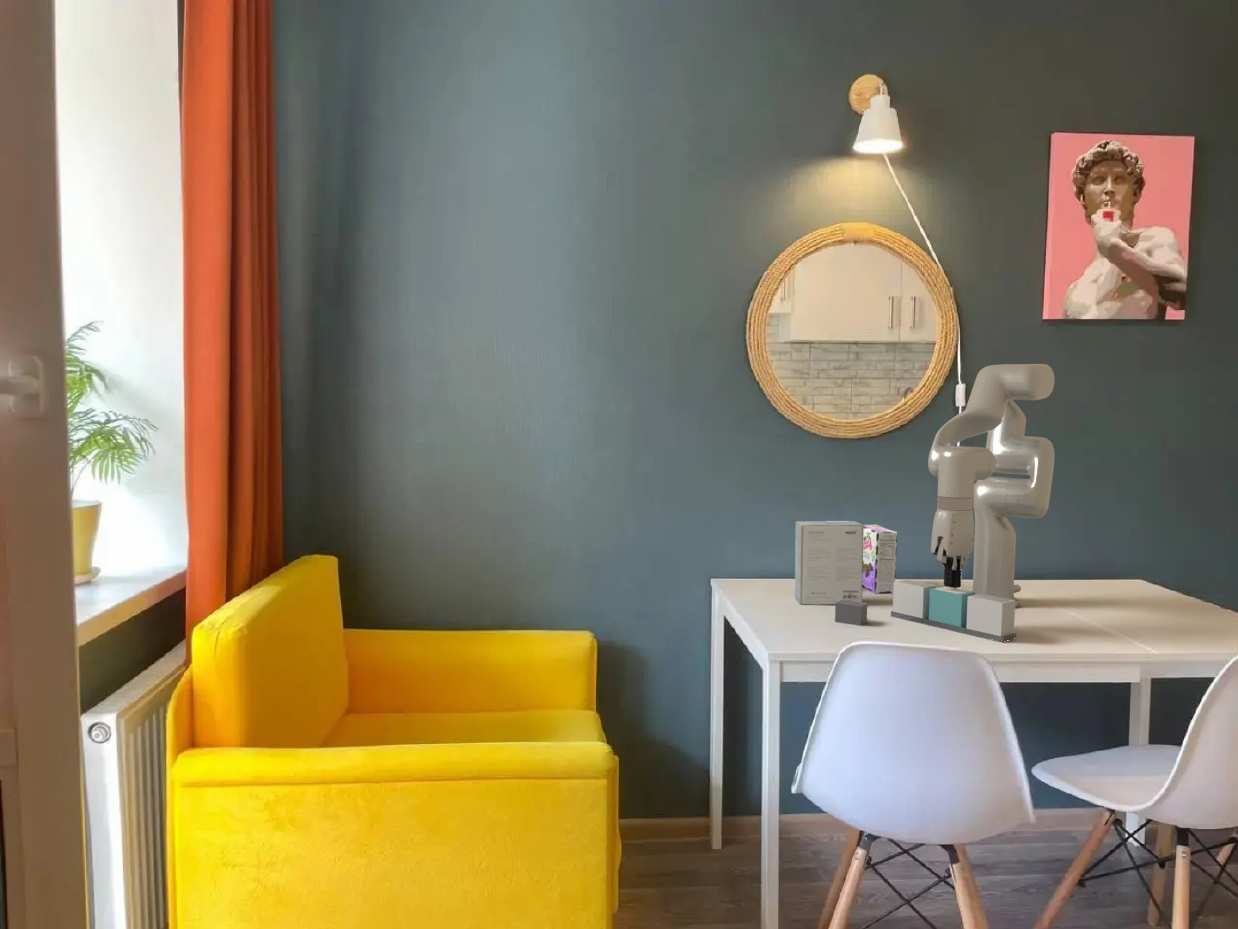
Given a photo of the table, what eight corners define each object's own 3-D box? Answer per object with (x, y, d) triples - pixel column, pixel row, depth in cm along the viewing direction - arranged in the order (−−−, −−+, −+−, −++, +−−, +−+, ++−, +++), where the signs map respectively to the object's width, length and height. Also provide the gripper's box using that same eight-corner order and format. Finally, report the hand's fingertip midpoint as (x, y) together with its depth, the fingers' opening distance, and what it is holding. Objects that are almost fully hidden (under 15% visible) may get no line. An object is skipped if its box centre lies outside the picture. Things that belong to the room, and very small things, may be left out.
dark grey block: (841, 619, 210) (841, 599, 210) (866, 622, 207) (867, 603, 206) (834, 622, 207) (835, 602, 206) (860, 626, 203) (861, 606, 203)
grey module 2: (966, 628, 197) (967, 596, 197) (979, 625, 200) (980, 593, 200) (1000, 636, 191) (1002, 602, 190) (1013, 633, 194) (1015, 600, 193)
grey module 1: (892, 611, 212) (893, 581, 212) (905, 608, 215) (906, 579, 215) (922, 618, 206) (923, 587, 206) (935, 615, 209) (936, 584, 208)
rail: (890, 616, 213) (890, 611, 213) (903, 613, 216) (904, 608, 216) (1002, 642, 191) (1003, 636, 190) (1015, 639, 194) (1016, 633, 193)
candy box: (855, 583, 251) (857, 524, 250) (875, 583, 252) (877, 524, 251) (874, 594, 238) (876, 531, 237) (896, 593, 238) (898, 531, 237)
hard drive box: (854, 599, 231) (857, 520, 230) (862, 605, 224) (865, 525, 222) (793, 598, 231) (795, 520, 230) (799, 605, 224) (801, 524, 222)
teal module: (942, 616, 208) (943, 585, 207) (973, 623, 202) (975, 592, 201) (928, 619, 205) (929, 588, 204) (960, 626, 199) (961, 594, 198)
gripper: (959, 500, 209) (956, 580, 210) (920, 505, 200) (917, 587, 201) (989, 504, 203) (986, 585, 204) (950, 508, 194) (947, 594, 195)
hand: (952, 586), depth 203 cm, fingers closed
